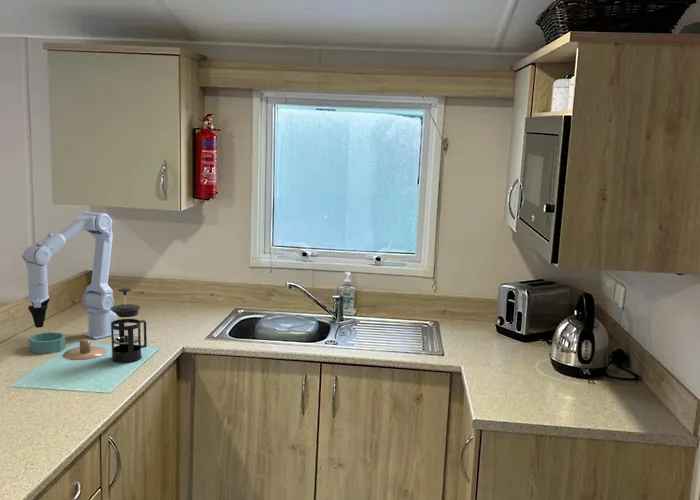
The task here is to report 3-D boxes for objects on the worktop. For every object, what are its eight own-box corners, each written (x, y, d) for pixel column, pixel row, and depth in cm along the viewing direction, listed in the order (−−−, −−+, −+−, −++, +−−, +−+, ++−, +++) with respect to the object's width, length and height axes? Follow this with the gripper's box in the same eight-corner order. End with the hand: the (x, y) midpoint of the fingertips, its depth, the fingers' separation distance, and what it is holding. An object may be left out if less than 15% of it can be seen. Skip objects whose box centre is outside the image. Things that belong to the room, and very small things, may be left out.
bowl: (55, 341, 240) (54, 330, 239) (71, 348, 233) (71, 337, 232) (24, 348, 231) (23, 337, 231) (39, 355, 225) (39, 344, 224)
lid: (92, 345, 238) (92, 332, 237) (114, 354, 229) (113, 340, 229) (56, 354, 228) (55, 340, 227) (77, 363, 220) (76, 349, 219)
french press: (114, 365, 218) (112, 293, 214) (105, 357, 225) (103, 287, 222) (151, 359, 225) (149, 289, 221) (141, 351, 232) (139, 283, 228)
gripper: (26, 278, 229) (28, 318, 232) (22, 288, 216) (24, 331, 218) (49, 277, 232) (51, 317, 234) (46, 287, 218) (49, 329, 220)
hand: (40, 323), depth 226 cm, fingers open, 7 cm apart
